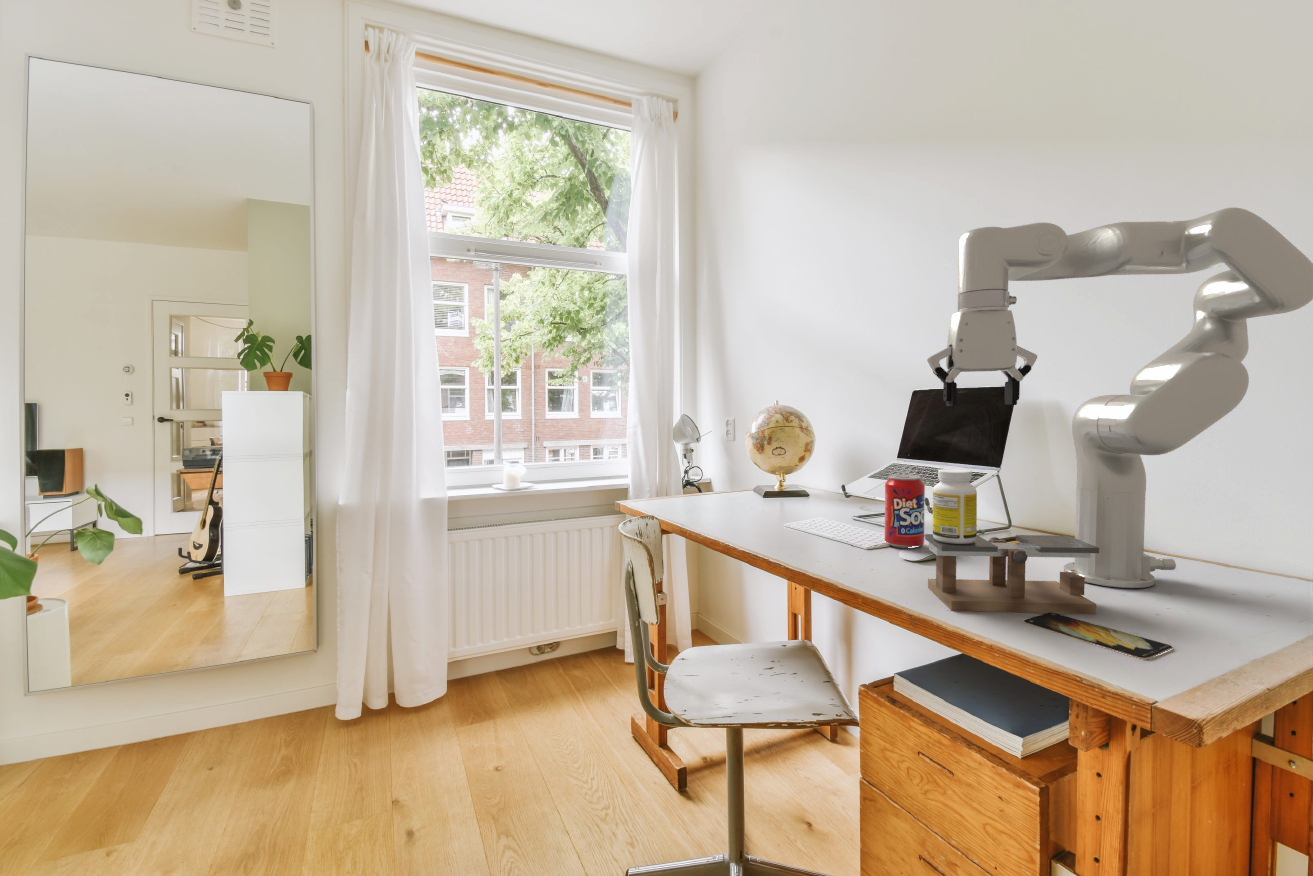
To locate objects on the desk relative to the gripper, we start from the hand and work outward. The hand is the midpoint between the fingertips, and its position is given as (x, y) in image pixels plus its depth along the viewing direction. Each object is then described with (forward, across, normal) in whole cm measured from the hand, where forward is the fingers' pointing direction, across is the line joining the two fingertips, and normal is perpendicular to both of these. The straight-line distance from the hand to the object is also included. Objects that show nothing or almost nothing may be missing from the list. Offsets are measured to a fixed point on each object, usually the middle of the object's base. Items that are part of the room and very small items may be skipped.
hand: (980, 405), depth 104 cm
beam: (+22, 0, +11) cm, 25 cm away
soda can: (+31, +6, -24) cm, 39 cm away
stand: (+30, 0, +11) cm, 32 cm away
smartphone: (+31, -5, +24) cm, 40 cm away
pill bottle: (+21, +8, +11) cm, 25 cm away
